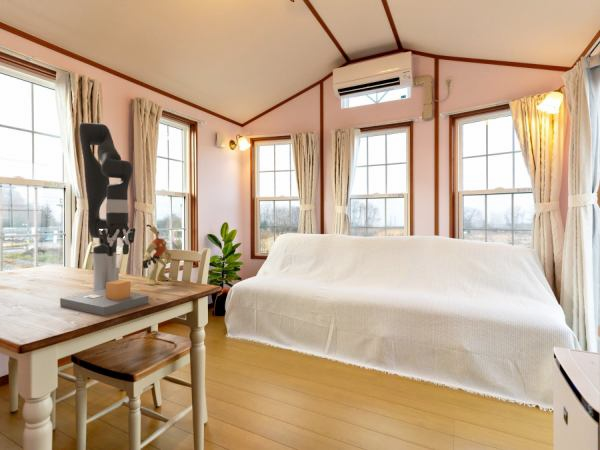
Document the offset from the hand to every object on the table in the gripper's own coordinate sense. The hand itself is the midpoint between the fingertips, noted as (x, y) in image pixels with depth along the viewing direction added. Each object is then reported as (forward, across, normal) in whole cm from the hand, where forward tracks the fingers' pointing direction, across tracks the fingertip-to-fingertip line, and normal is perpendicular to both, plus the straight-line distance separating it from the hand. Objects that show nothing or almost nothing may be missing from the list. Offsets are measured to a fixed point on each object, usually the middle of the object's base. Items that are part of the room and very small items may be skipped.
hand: (117, 255), depth 124 cm
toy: (+20, -34, -19) cm, 44 cm away
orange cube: (+17, 0, 0) cm, 17 cm away
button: (+19, +4, -8) cm, 21 cm away
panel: (+20, +2, -5) cm, 20 cm away
